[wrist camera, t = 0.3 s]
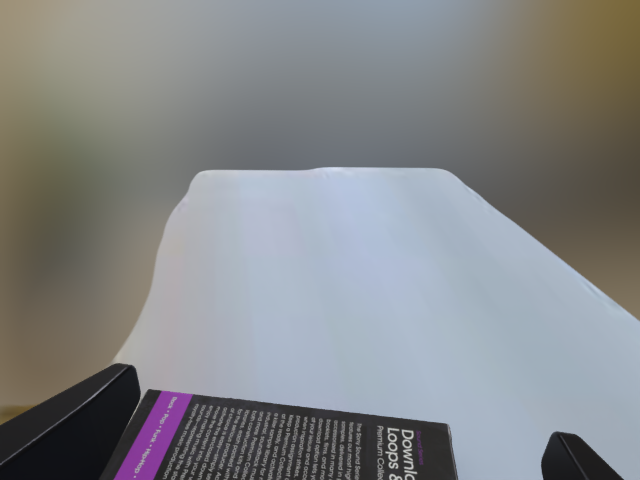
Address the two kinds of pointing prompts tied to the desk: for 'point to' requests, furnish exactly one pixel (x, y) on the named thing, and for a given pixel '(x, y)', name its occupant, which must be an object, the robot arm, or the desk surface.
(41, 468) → the robot arm
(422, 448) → the box
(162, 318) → the desk surface
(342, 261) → the desk surface
